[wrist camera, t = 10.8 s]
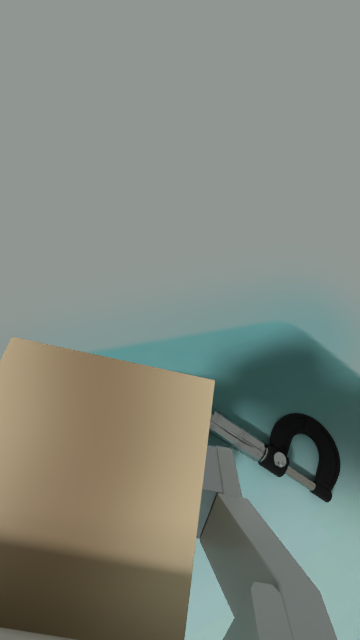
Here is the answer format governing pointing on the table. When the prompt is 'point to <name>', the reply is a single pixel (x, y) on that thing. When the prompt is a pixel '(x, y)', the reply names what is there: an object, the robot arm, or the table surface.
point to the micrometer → (284, 448)
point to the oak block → (98, 493)
